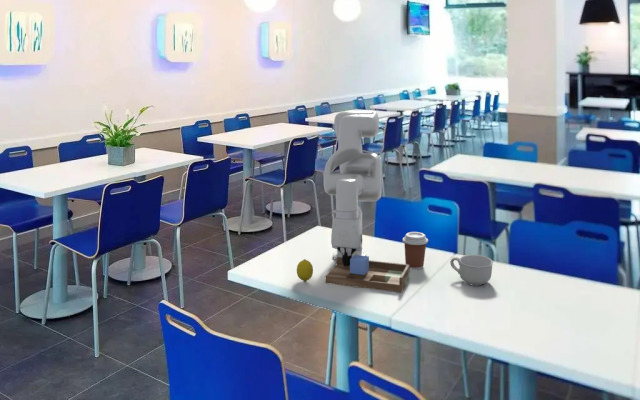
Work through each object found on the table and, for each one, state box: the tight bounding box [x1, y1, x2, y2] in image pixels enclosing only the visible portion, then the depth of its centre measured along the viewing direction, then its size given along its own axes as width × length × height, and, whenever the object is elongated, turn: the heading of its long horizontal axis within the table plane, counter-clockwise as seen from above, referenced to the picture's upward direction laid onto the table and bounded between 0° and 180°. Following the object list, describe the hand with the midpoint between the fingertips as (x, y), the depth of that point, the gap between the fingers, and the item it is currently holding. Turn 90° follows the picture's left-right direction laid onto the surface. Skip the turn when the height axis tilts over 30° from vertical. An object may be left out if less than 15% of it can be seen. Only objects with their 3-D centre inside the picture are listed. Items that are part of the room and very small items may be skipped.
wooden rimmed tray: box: [324, 257, 411, 293], centre depth 191 cm, size 13×26×5 cm, turn 70°
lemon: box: [296, 259, 314, 283], centre depth 191 cm, size 6×6×8 cm
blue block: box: [350, 255, 370, 275], centre depth 193 cm, size 5×5×5 cm
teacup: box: [449, 254, 494, 286], centre depth 190 cm, size 14×11×8 cm
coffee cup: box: [402, 231, 429, 270], centre depth 204 cm, size 9×9×12 cm
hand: (347, 265), depth 196 cm, fingers closed
